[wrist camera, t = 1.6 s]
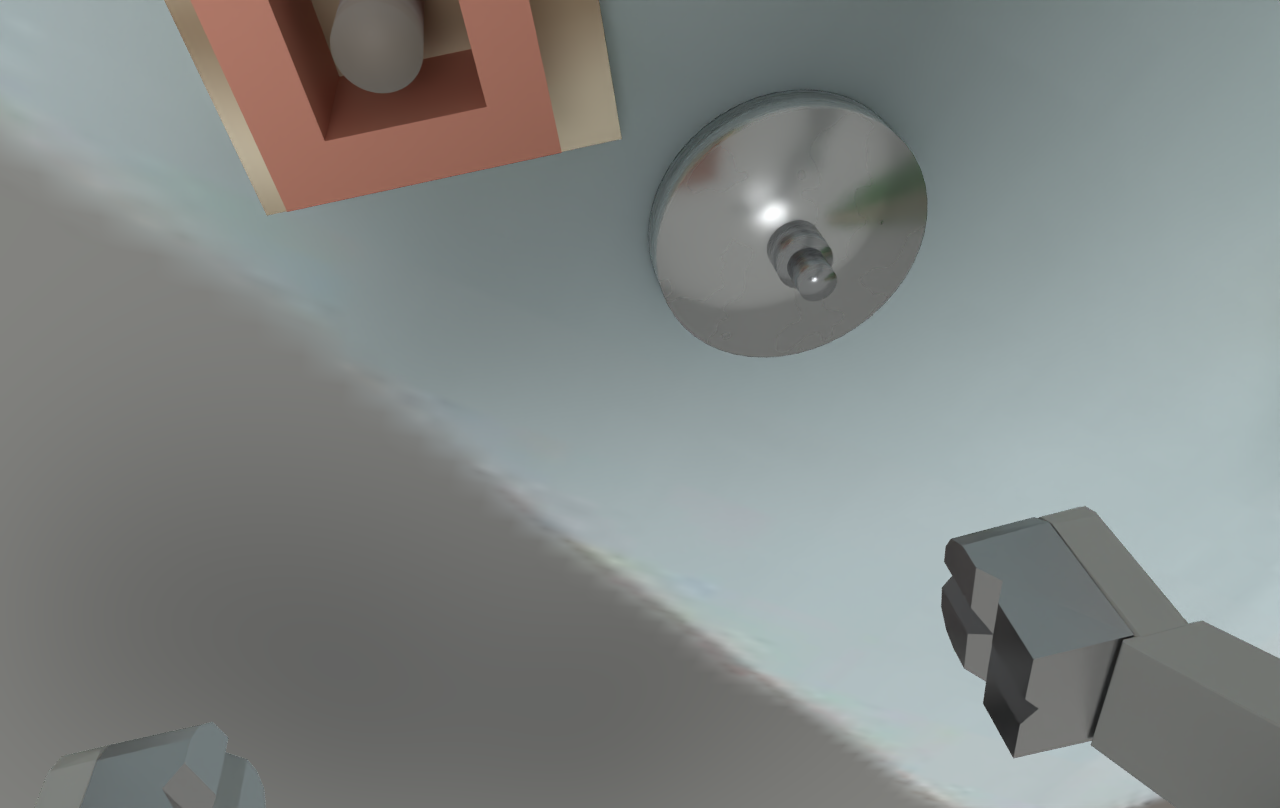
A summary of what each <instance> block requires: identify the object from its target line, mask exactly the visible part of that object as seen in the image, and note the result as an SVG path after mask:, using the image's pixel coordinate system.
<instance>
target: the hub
mask: <svg viewBox="0 0 1280 808" xmlns="http://www.w3.org/2000/svg"><path fill="white" fill-rule="evenodd" d="M926 219H927V194H926V187H925V182H924V179H923V175H922V172H921V169H920V167H919V165H918V163H917V161H916V159H915V157H914V155H913V154H912V152H911V151H910V150H909V148H908V147H907V146H906V144H905V143H904V142H903V141H902V140H901V139H900V138H899V137H898V136H897V135H896V134H895V133H894V132H893V131H892V130H891V129H890V128H889V127H888V126H887V125H886V124H885V123H884V122H883V121H882V120H881V119H880V118H879V117H878V116H877V115H876V114H875V113H874V112H872V111H871V110H869V109H868V108H866V107H865V106H863V105H862V104H860V103H858V102H856V101H854V100H852V99H849V98H847V97H845V96H841V95H838V94H834V93H831V92H824V91H817V90H791V91H784V92H777V93H772V94H769V95H765V96H762V97H758V98H755V99H753V100H750V101H748V102H745V103H743V104H741V105H738V106H736V107H735V108H733V109H731V110H729V111H727V112H726V113H724V114H722V115H720V116H719V117H718V118H716V119H715V120H714V121H712V122H711V123H709V124H708V125H707V126H705V127H704V128H703V129H702V130H701V131H700V132H699V133H698V134H696V135H695V136H694V137H693V138H692V139H691V140H690V141H689V142H688V143H687V145H686V146H685V147H684V148H683V149H682V150H681V152H680V153H679V154H678V155H677V156H676V158H675V159H674V161H673V162H672V164H671V165H670V167H669V169H668V170H667V172H666V174H665V176H664V178H663V180H662V182H661V184H660V186H659V188H658V191H657V193H656V196H655V199H654V202H653V206H652V210H651V215H650V220H649V235H648V238H649V250H650V256H651V260H652V264H653V268H654V270H655V273H656V276H657V279H658V281H659V284H660V287H661V289H662V292H663V294H664V297H665V299H666V302H667V304H668V306H669V307H670V309H671V311H672V312H673V314H674V316H675V317H676V318H677V319H678V321H679V322H680V323H681V324H682V325H683V326H684V327H685V328H686V329H687V330H688V331H689V332H690V333H691V334H693V335H694V336H695V337H697V338H698V339H700V340H701V341H703V342H705V343H706V344H708V345H710V346H712V347H715V348H717V349H719V350H722V351H725V352H729V353H732V354H736V355H742V356H749V357H778V356H785V355H791V354H797V353H800V352H804V351H807V350H811V349H814V348H817V347H819V346H822V345H824V344H827V343H829V342H831V341H833V340H835V339H837V338H839V337H841V336H843V335H845V334H846V333H848V332H850V331H851V330H853V329H854V328H856V327H857V326H859V325H860V324H861V323H863V322H864V321H865V320H867V319H868V318H869V317H871V316H872V315H873V314H874V313H875V312H876V311H877V310H878V309H879V308H880V307H881V306H882V305H884V304H885V302H886V301H887V300H888V299H889V298H890V297H891V296H892V294H893V293H894V292H895V291H896V290H897V288H898V287H899V285H900V284H901V283H902V281H903V280H904V278H905V277H906V275H907V273H908V272H909V270H910V268H911V266H912V264H913V263H914V260H915V258H916V256H917V253H918V251H919V249H920V246H921V242H922V239H923V235H924V232H925V226H926Z"/></svg>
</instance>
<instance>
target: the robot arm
mask: <svg viewBox="0 0 1280 808" xmlns="http://www.w3.org/2000/svg"><path fill="white" fill-rule="evenodd" d="M944 562H945V564H946V566H947V567H948V569H949V571H950V572H951V574H952V577H951V578H950V579H949V580H948V581H947V582H946V584H945V585H944V586H943V587H942V602H941V608H942V612H943V617H944V622H945V626H946V631H947V633H948V636H949V638H950V641H951V643H952V646H953V648H954V650H955V652H956V654H957V656H958V658H959V660H960V661H961V663H962V665H963V667H964V668H965V669H966V670H968V671H969V672H971V673H973V674H974V675H976V676H978V677H979V678H981V679H983V680H984V681H986V686H985V694H984V701H983V704H984V706H985V708H986V710H987V711H988V713H989V715H990V717H991V719H992V720H993V722H994V724H995V726H996V728H997V729H998V731H999V733H1000V735H1001V737H1002V739H1003V740H1004V742H1005V744H1006V746H1007V748H1008V749H1009V751H1010V753H1011V755H1012V757H1013V758H1017V757H1021V756H1026V755H1030V754H1035V753H1039V752H1044V751H1048V750H1052V749H1057V748H1061V747H1066V746H1070V745H1075V744H1079V743H1084V742H1088V741H1092V743H1091V746H1093V747H1094V748H1095V749H1097V750H1098V751H1099V752H1101V753H1102V754H1104V755H1105V756H1106V757H1108V758H1109V759H1110V760H1112V761H1113V762H1114V763H1116V764H1117V765H1119V766H1120V767H1121V768H1123V769H1124V770H1125V771H1127V772H1128V773H1129V774H1131V775H1132V776H1134V777H1135V778H1136V779H1138V780H1139V781H1140V782H1142V783H1143V784H1144V785H1146V786H1147V787H1148V788H1150V789H1151V790H1153V791H1154V792H1155V793H1157V794H1158V795H1159V796H1161V797H1162V798H1163V799H1165V800H1166V801H1168V802H1169V803H1170V804H1172V805H1173V806H1174V807H1176V808H1280V658H1277V657H1275V656H1273V655H1271V654H1269V653H1267V652H1265V651H1263V650H1261V649H1259V648H1257V647H1255V646H1253V645H1251V644H1249V643H1247V642H1245V641H1243V640H1241V639H1239V638H1237V637H1235V636H1233V635H1231V634H1229V633H1227V632H1225V631H1222V630H1220V629H1218V628H1216V627H1214V626H1212V625H1210V624H1208V623H1206V622H1204V621H1198V622H1193V623H1187V621H1186V620H1185V619H1184V618H1183V617H1182V615H1181V614H1180V613H1179V612H1178V611H1177V609H1176V608H1175V607H1174V606H1173V605H1172V603H1171V602H1170V601H1169V600H1168V599H1167V597H1166V596H1165V595H1164V594H1163V593H1162V591H1161V590H1160V589H1159V588H1158V587H1157V585H1156V584H1155V583H1154V582H1153V581H1152V579H1151V578H1150V577H1149V576H1148V575H1147V573H1146V572H1145V571H1144V570H1143V568H1142V567H1141V566H1140V565H1139V564H1138V562H1137V561H1136V560H1135V559H1134V558H1133V556H1132V555H1131V554H1130V553H1129V552H1128V550H1127V549H1126V548H1125V547H1124V546H1123V544H1122V543H1121V542H1120V541H1119V540H1118V538H1117V537H1116V536H1115V535H1114V534H1113V532H1112V531H1111V530H1110V529H1109V528H1108V526H1107V525H1106V524H1105V523H1104V522H1103V520H1102V519H1101V518H1100V517H1099V515H1098V514H1097V513H1096V512H1095V511H1093V510H1091V509H1089V508H1088V507H1086V506H1083V507H1077V508H1073V509H1069V510H1065V511H1061V512H1058V513H1054V514H1050V515H1046V516H1042V517H1039V518H1035V517H1033V518H1029V519H1025V520H1021V521H1017V522H1014V523H1010V524H1006V525H1002V526H998V527H994V528H991V529H987V530H983V531H979V532H975V533H971V534H968V535H964V536H960V537H956V538H952V539H950V541H949V542H948V544H947V545H946V549H945V559H944ZM227 741H228V737H227V736H226V735H225V734H224V733H223V732H222V731H221V730H220V729H219V728H218V727H217V726H216V725H215V724H214V723H213V722H210V723H206V724H201V725H197V726H192V727H188V728H183V729H179V730H175V731H170V732H166V733H161V734H157V735H152V736H148V737H143V738H139V739H134V740H130V741H125V742H121V743H116V744H111V745H107V746H103V747H99V748H95V749H90V750H86V751H82V752H78V753H73V754H69V755H65V756H62V757H61V758H60V759H59V760H58V762H57V763H56V764H55V765H54V766H53V767H52V768H51V770H50V771H49V772H48V774H47V776H46V779H45V781H44V784H43V786H42V789H41V791H40V794H39V797H38V799H37V802H36V804H35V807H34V808H266V806H265V794H264V787H263V785H262V783H261V780H260V778H259V775H258V773H257V771H256V769H255V768H254V767H253V766H252V765H251V763H250V762H249V761H248V760H247V759H245V758H242V757H238V756H235V755H232V754H229V753H226V752H225V751H226V746H227Z"/></svg>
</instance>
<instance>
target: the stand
mask: <svg viewBox="0 0 1280 808" xmlns="http://www.w3.org/2000/svg"><path fill="white" fill-rule="evenodd" d="M164 1H165V3H166V5H167V7H168V9H169V11H170V13H171V15H172V17H173V20H174V22H175V24H176V26H177V28H178V30H179V32H180V34H181V36H182V38H183V41H184V43H185V45H186V47H187V49H188V51H189V53H190V55H191V57H192V59H193V62H194V64H195V66H196V68H197V70H198V72H199V74H200V76H201V78H202V80H203V83H204V85H205V87H206V89H207V91H208V93H209V95H210V97H211V99H212V101H213V104H214V106H215V108H216V110H217V112H218V114H219V116H220V118H221V120H222V122H223V125H224V127H225V129H226V131H227V133H228V135H229V137H230V139H231V141H232V143H233V146H234V148H235V150H236V152H237V154H238V156H239V158H240V160H241V162H242V164H243V166H244V169H245V171H246V173H247V175H248V177H249V179H250V181H251V183H252V185H253V187H254V190H255V192H256V194H257V196H258V198H259V200H260V202H261V204H262V206H263V208H264V211H265V213H266V215H271V214H276V213H281V212H285V211H287V210H286V208H285V206H284V204H283V202H282V199H281V197H280V195H279V193H278V191H277V189H276V186H275V184H274V182H273V180H272V178H271V175H270V173H269V171H268V169H267V167H266V165H265V162H264V160H263V158H262V156H261V154H260V151H259V149H258V147H257V145H256V143H255V140H254V138H253V136H252V134H251V132H250V130H249V127H248V125H247V123H246V121H245V119H244V116H243V114H242V112H241V110H240V108H239V106H238V103H237V101H236V99H235V97H234V95H233V92H232V90H231V88H230V86H229V84H228V81H227V79H226V77H225V75H224V73H223V71H222V68H221V66H220V64H219V62H218V60H217V57H216V55H215V53H214V51H213V49H212V47H211V44H210V42H209V40H208V38H207V36H206V33H205V31H204V29H203V27H202V25H201V22H200V20H199V18H198V16H197V14H196V12H195V9H194V7H193V5H192V3H191V1H190V0H164ZM311 1H312V4H313V7H314V10H315V12H316V15H317V18H318V20H319V23H320V26H321V28H322V31H323V34H324V36H325V39H326V42H327V45H328V47H329V50H330V53H331V55H332V58H333V61H334V63H335V66H336V69H337V71H338V74H339V77H340V76H345V77H346V78H347V79H348V80H349V81H350V82H351V83H353V84H354V85H356V86H357V87H359V88H361V89H364V90H366V91H370V92H374V93H391V92H395V91H398V90H401V89H403V88H404V87H406V86H408V85H409V84H410V83H411V82H412V81H413V80H414V79H415V78H416V76H417V75H418V73H419V71H420V69H421V66H422V62H423V59H426V58H430V57H435V56H440V55H445V54H449V53H454V52H459V51H464V50H469V49H471V45H470V42H469V38H468V34H467V30H466V27H465V23H464V19H463V15H462V11H461V8H460V4H459V0H311ZM529 2H530V7H531V12H532V16H533V21H534V26H535V30H536V35H537V40H538V44H539V49H540V54H541V58H542V63H543V67H544V72H545V77H546V81H547V86H548V91H549V95H550V100H551V105H552V109H553V114H554V119H555V123H556V128H557V133H558V137H559V142H560V147H561V151H562V152H564V151H568V150H573V149H578V148H582V147H587V146H591V145H596V144H601V143H605V142H610V141H615V140H619V139H622V138H621V132H620V126H619V120H618V114H617V108H616V102H615V95H614V89H613V83H612V77H611V71H610V65H609V59H608V53H607V47H606V41H605V35H604V29H603V23H602V16H601V10H600V4H599V0H529Z"/></svg>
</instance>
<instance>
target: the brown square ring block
mask: <svg viewBox="0 0 1280 808" xmlns="http://www.w3.org/2000/svg"><path fill="white" fill-rule="evenodd" d="M190 1H191V3H192V5H193V7H194V9H195V12H196V14H197V16H198V18H199V20H200V22H201V25H202V27H203V29H204V31H205V33H206V36H207V38H208V40H209V42H210V44H211V47H212V49H213V51H214V53H215V55H216V57H217V60H218V62H219V64H220V66H221V68H222V71H223V73H224V75H225V77H226V79H227V81H228V84H229V86H230V88H231V90H232V92H233V95H234V97H235V99H236V101H237V103H238V106H239V108H240V110H241V112H242V114H243V116H244V119H245V121H246V123H247V125H248V127H249V130H250V132H251V134H252V136H253V138H254V140H255V143H256V145H257V147H258V149H259V151H260V154H261V156H262V158H263V160H264V162H265V165H266V167H267V169H268V171H269V173H270V175H271V178H272V180H273V182H274V184H275V186H276V189H277V191H278V193H279V195H280V197H281V199H282V202H283V204H284V206H285V208H286V210H287V212H289V211H293V210H298V209H303V208H307V207H312V206H317V205H321V204H326V203H331V202H335V201H340V200H344V199H349V198H354V197H358V196H363V195H368V194H372V193H377V192H382V191H386V190H391V189H395V188H400V187H405V186H409V185H414V184H419V183H423V182H428V181H433V180H437V179H442V178H446V177H451V176H456V175H460V174H465V173H470V172H474V171H479V170H484V169H488V168H493V167H497V166H502V165H507V164H511V163H516V162H521V161H525V160H530V159H535V158H539V157H544V156H548V155H553V154H558V153H562V151H561V147H560V142H559V137H558V133H557V128H556V123H555V119H554V114H553V109H552V105H551V100H550V95H549V91H548V86H547V81H546V77H545V72H544V67H543V63H542V58H541V54H540V49H539V44H538V40H537V35H536V30H535V26H534V21H533V16H532V12H531V7H530V2H529V0H459V4H460V8H461V11H462V15H463V19H464V23H465V27H466V30H467V34H468V38H469V42H470V45H471V49H469V50H464V51H459V52H454V53H449V54H445V55H440V56H435V57H430V58H426V59H423V62H422V66H421V69H420V71H419V73H418V75H417V76H416V78H415V79H414V80H413V81H412V82H411V83H410V84H409V85H408V86H406V87H404V88H403V89H401V90H398V91H395V92H391V93H374V92H370V91H366V90H364V89H361V88H359V87H357V86H356V85H354V84H353V83H351V82H350V81H349V80H348V79H347V78H346V77H345V76H340V77H339V74H338V71H337V69H336V66H335V63H334V61H333V58H332V55H331V53H330V50H329V47H328V45H327V42H326V39H325V36H324V34H323V31H322V28H321V26H320V23H319V20H318V18H317V15H316V12H315V10H314V7H313V4H312V1H311V0H190Z"/></svg>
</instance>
